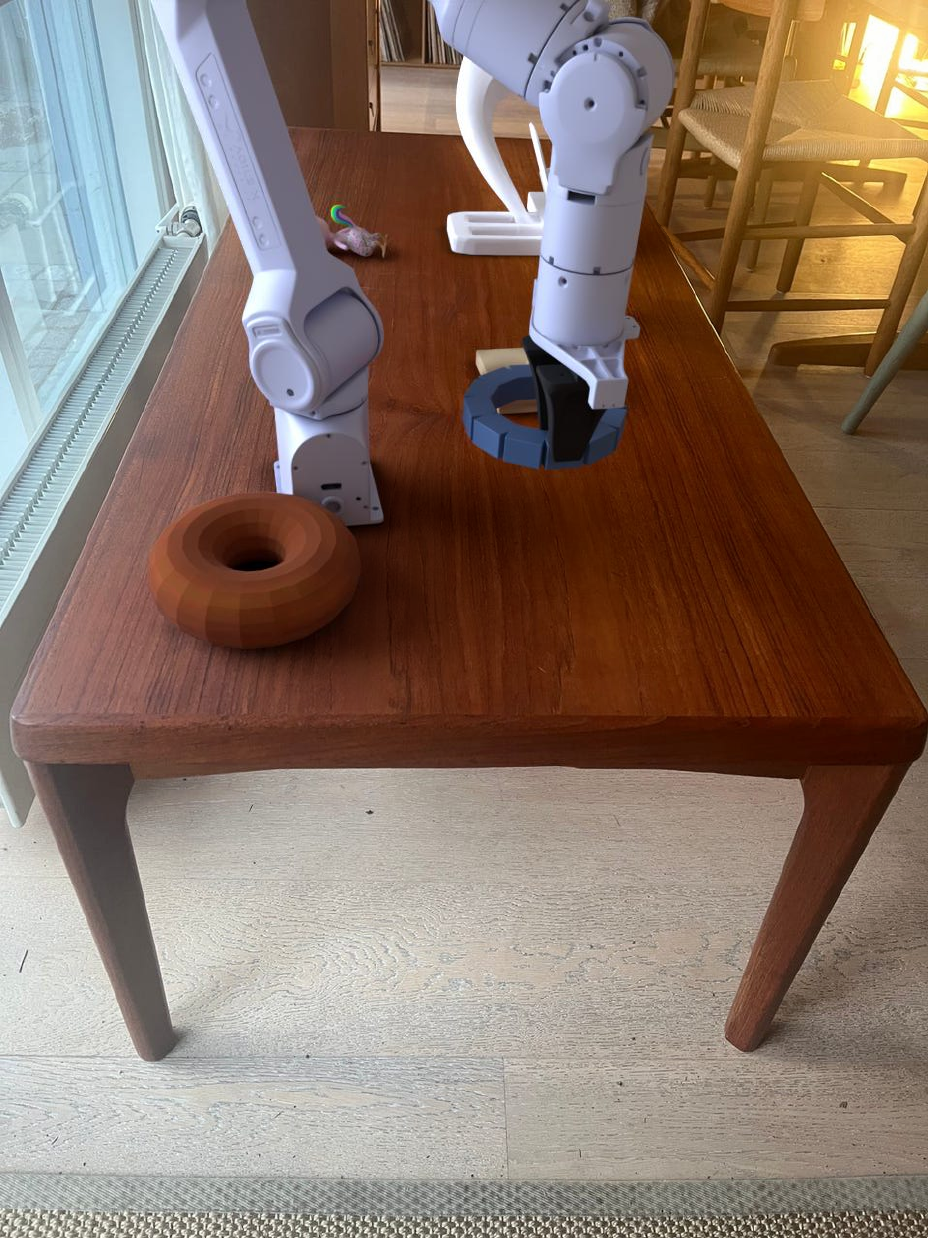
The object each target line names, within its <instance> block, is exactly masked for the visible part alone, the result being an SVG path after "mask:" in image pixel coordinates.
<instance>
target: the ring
mask: <svg viewBox="0 0 928 1238" xmlns="http://www.w3.org/2000/svg"><path fill="white" fill-rule="evenodd" d="M533 399H536V393H535V386H534V381H533V376H532V372H531V368H530V365H529V364H525V365H509V369H508V368H506V367H501V368H499V369H496V370H494V371H491V372H488V373H486V374H483V375H481V374H480V375H479V376H478V378H475V379H474V380H473V381H472V383H471V384H470V386H469V387H468V388H467V390H466V391H465V393H464V394H463V404H462V419H461V421H462V425H463V427H464V429H465V431H466V434H467V437H468V439H469V441H472V444H473V445H475V446H476V447H477V448H479V449H481V450H482V451H484V452H485V453H487V454H489V455H490V456H492V457H493V458H495V459H497V460H499V459H502V462H503V463H507V464H513V465H518V466H521V467H527V468H531V469H534V470H540V469H541V467H542V466H543V468H544V470H545V471H553V470H565V469H566V470H568V469H582V468H583V465H584V466H586V467H589V466H591V465H593V464H595V463H596V462H599V461H601V460H603V459H605V458H607V457H608V456H609V457H610V456H611V455H613V453H614V452H616V451H617V450H618V449H617V448H618V447H619V445H620V442H621V439H622V437H623V434H624V430H625V425H626V419H627V414H628V409H627V408H628V407H627V405H626V402H625V403H624V407H623V408H611V409H607V410H606V412H605V413H604V415H603V416H602V418H601V420H600V421H599V423H598V425H597V427H596V429H595V431H594V434H593V436H592V438H591V440H590V443H589V445H588V447H587V449H586V451H585V453H584V455H583V457H582V459H581V460H580V461H569V462H553V460H552V458H551V454H550V448H549V438H548V430H547V431H544V430H540V429H539V428H534V427H530V426H526V425H520V424H517V423H515V422H513V421H512V420H510V419H508V418H507V417H505V416H504V415H503V414H499V413H498V412H497V408H500V407H502V406H504V405H507V404H509V403H512V402H514V401H516V400H533Z"/></svg>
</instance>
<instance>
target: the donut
mask: <svg viewBox="0 0 928 1238" xmlns="http://www.w3.org/2000/svg"><path fill="white" fill-rule="evenodd" d="M252 562H269V563H270V562H271V563H275V564H276V565H275V566H272V567H269V568H266V569H262V570H251V571H246V570H238V569H234V568H236V567H238V566H240V565H241V566H242V565H245V564H248V563H252ZM361 572H362V564H361V557H360V551H359V546H358V544H357V540H356V537H355V536H354V535H353V533H352V532H351V531H350V529H349V528H348V526H346V525H345V524H344V522H343V521H342V520H341V519H339V518H338V517H337V516H336V515H335V514H333V513H332V512H330V511H329V510H327V509H326V508H324V507H323V506H321V505H320V504H318V503H316V502H313V501H310V500H308V499H305V498H302V497H299V496H296V495H292V494H284V493H277V492H275V491H267V490H265V491H250V492H249V491H248V492H235V493H231V494H228V495H223V496H219V497H215V498H211V499H208V500H206V501H204V502H202V503H200V504H197V505H195V506H193V507H191V508H189V509H187V510H185V511H183V512H182V513H181V514H180V515H179V516H177V517H176V518H174V520H173V521H171V522H170V523H169V524H168V525H166V527H164V529H163V530H162V532H161V533H160V535H159V536H158V538H157V540H156V541H155V543H154V545H153V546H152V548H151V550H150V551H149V555H148V565H147V575H146V576H147V578H146V585H147V588H148V591H149V592H150V594H151V597H152V599H153V601H154V603H155V606H156V608H157V609H158V611H159V613H160V615H161V616H162V617H164V618H165V619H166V620H167V621H168V622H169V623H171V624H172V625H173V626H174V627H175V628H176V629H178V630H179V631H180V632H182V633H184V634H186V635H187V636H189V637H193V638H195V639H198V640H200V641H203V642H205V643H208V644H210V645H213V646H216V647H217V646H218V647H225V648H233V649H240V650H251V649H252V650H253V649H263V648H274V647H276V648H277V647H279V646H282V645H286V644H288V643H289V644H290V643H292V642H295V641H299V640H301V639H305V638H307V637H309V636H310V635H313V633H315V632H317V631H318V630H320V629H322V628H325V626H327V625H329V624H330V623H331V622H332V621H334V620H335V619H336V618H337V616H338V615H339V614H341V612H342V611H343V610H344V609H345V608H346V607H347V605H348V604H349V603H350V602H351V601H352V600H353V596H354V595H355V591H356V589H357V585H358V582H359V580H360V576H361Z"/></svg>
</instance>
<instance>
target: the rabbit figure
mask: <svg viewBox="0 0 928 1238" xmlns="http://www.w3.org/2000/svg"><path fill="white" fill-rule="evenodd" d="M345 208H346V206H344V205H342V204H334V205H333V206H332V207H331V209H330V216H331V219H332V220H333V222H334V223H336V224H338V225H340V226H348V227H346V228H343V229H341V230H339V231H337V232H335V233H333V232H332V231H330V228H329V227H330V226H329V224H328V223H327V222H326V221H325V219H323V218H321V217H320V216H317V215H316V218H317V221H318V224H319V227H320V230H321V233H322V236H323V239H324V242H325V245H326V248H327V249H328V247H329V244H330V243H331V244H333V245H335V246H337V247H338V248H339V249H340V250H344V251H348V250H350V251H352V252H353V253H356V254H358V255H360V256H361V257H364V258H365V257H366V258H368V257H370V256H372V255H373V253H374V251H375V249H376V248H377V246H379V247H380V248H381V251H382V254H381V255H382V258H383V259H385V254H386V251H387V250H386V249H387V241H388V239H387V237H388V234H386V235H385V236H383V235H382V234H381V233H380V232H375V233H369V231H367V230H366V229H365V228H363V227H361V226H357V225H356V224H355V223H354V222H353V220H352V219H351V218H350V217H349V216H348V215H346V214H343V213H342V212H341V211H342V210H343V209H345ZM378 239H381V240H382V243H383V244H382V243H381V242H380V241H379V240H378Z"/></svg>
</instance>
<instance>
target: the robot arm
mask: <svg viewBox="0 0 928 1238" xmlns="http://www.w3.org/2000/svg"><path fill="white" fill-rule="evenodd" d="M149 1H150V3H151V6H152V9H153V12H154V14H155V17H156V19H157V22H158V25H159V28H160V29H161V33H162V35H163V38H164V41H165V44H166V46H167V49H168V52H169V55H170V56H171V59H172V62H173V65H174V67H175V70H176V73H177V76H178V78H179V82H180V83H181V86H182V89H183V91H184V94H185V97H186V99H187V102H188V105H189V107H190V111H191V113H192V115H193V119H194V121H195V123H196V126H197V128H198V132H199V134H200V137H201V139H202V142H203V145H204V147H205V151H206V153H207V155H208V158H209V161H210V163H211V166H212V168H213V169H212V170H213V171H214V174H215V177H216V179H217V183H218V184H219V187H220V190H221V193H222V195H223V198H224V200H225V203H226V206H227V209H228V211H229V213H230V216H231V219H232V221H233V225H234V227H235V229H236V232H237V236H238V238H239V240H240V243H241V247H242V248H243V251H244V254H245V257H246V259H247V261H248V264H249V267H250V269H251V273H252V275H253V281H252V285H251V288H250V291H249V294H248V297H247V300H246V303H245V306H244V310H243V313H242V317H241V323H242V325H243V328H244V331H245V334H246V337H247V340H248V346H249V355H248V357H249V358H248V361H249V362H248V363H249V369H250V372H251V376H252V378H253V380H254V382H255V384H256V386H257V388H258V390H259V391H260V392H261V394H262V395H263V396H265V398H266V399H267V400H268V402H269V405H270V407H273V409H274V420H275V431H276V442H277V453H278V460H276V461H275V462H274V463H273V469H274V477H275V478H274V479H275V487H276V493H284V494H292V495H296V496H299V497H302V498H305V499H308V500H310V501H313V502H316V503H318V504H320V505H321V506H323V507H324V508H326V509H327V510H329V511H330V512H332V513H333V514H335V515H336V516H337V517H338V518H339V519H341V520H342V521H343V522H344V524H345V525H346V527H351V526H364V525H374V524H380V523H383V522H384V512H383V508H382V505H381V501H380V496H379V493H378V489H377V484H376V480H375V477H374V473H373V469H372V464H371V460H370V412H369V411H370V410H369V409H370V408H369V406H370V405H369V404H370V403H369V379H370V363H372V362H373V361H375V359H376V358H378V356H379V355H380V353H381V352H382V349H383V345H384V341H385V332H384V331H385V330H384V324H383V322H382V319H381V316H380V314H379V312H378V310H377V309H376V308H375V306H374V304H373V303H372V302H371V301H370V299H368V297H367V296H366V295H365V293H364V292H363V289H362V288H361V286H360V284H359V280H358V278H357V275H356V272H355V269H354V268H353V267H351V266H350V265H349V264H347V263H346V262H344V261H342V260H341V259H339V258H338V257H336V256H334V255H333V254H331V253H330V252H329V251H328V248H326V245H325V242H324V239H323V236H322V233H321V230H320V227H319V224H318V221H317V218H316V216H317V214H316V212H315V209H314V206H313V204H312V200H311V197H310V194H309V191H308V188H307V185H306V182H305V179H304V175H303V172H302V169H301V167H300V163H299V160H298V158H297V155H296V152H295V149H294V145H293V143H292V139H291V137H290V133H289V129H288V127H287V124H286V121H285V118H284V115H283V112H282V109H281V106H280V103H279V100H278V97H277V94H276V90H275V88H274V85H273V82H272V79H271V75H270V73H269V70H268V67H267V64H266V61H265V58H264V55H263V52H262V49H261V45H260V42H259V40H258V36H257V33H256V31H255V28H254V25H253V22H252V18H251V16H250V12H249V9H248V6H247V0H149ZM427 1H428V2H429V3H430V4H432V6H433V9H434V12H435V18H436V23H437V26H438V30H439V34H440V37H441V39H442V40H443V42H444V43H445V44H446V45H448V46H450V47H451V48H452V49H453V50H455V51H456V52H458V53H459V54H461V55H462V56H463V57H464V56H465V57H466V58H468V59H469V60H470V61H472V62H473V63H474V64H476V65H477V66H478V67H480V68H481V69H483V70H484V71H485V72H487V73H488V74H489V75H491V76H492V77H494V78H495V79H496V80H498V81H499V82H500V83H502V84H503V85H504V86H506V87H507V88H509V89H510V90H511V91H513V92H514V93H515V94H514V95H517V97H519V98H521V99H522V100H524V101H525V102H526V103H527V104H529V105H530V106H532V107H533V108H535V109H536V108H538V109H539V114H540V119H541V122H542V125H543V128H544V131H545V134H546V135H547V137H548V138H549V140H550V142H551V144H552V146H551V147H552V148H551V155H550V166H549V168H550V172H549V176H548V185H547V194H546V204H545V214H544V224H543V233H542V243H541V251H540V256H539V262H538V272H537V278H535V279H534V282H533V291H532V301H531V307H532V306H533V311H532V315H531V314H530V319H529V331H528V335H525V336H523V337H522V338H521V341H520V344H521V346H522V348H524V351H525V353H526V356H527V359H528V361H529V365H530V368H531V372H532V376H533V381H534V386H535V393H536V402H537V412H536V413H537V421H538V429H539V430H544V431H547V430H548V438H549V448H550V454H551V458H552V460H553V462H569V461H580V460H581V459H582V457H583V455H584V453H585V451H586V449H587V447H588V445H589V443H590V440H591V438H592V436H593V434H594V431H595V429H596V427H597V425H598V423H599V421H600V420H601V418H602V416H603V415H604V413H605V412H606V410H607V409H611V408H623V407H624V403H625V404H626V402H625V401H626V396H627V392H628V385H629V377H628V375H627V374H626V372H625V365H624V364H625V363H624V362H625V349H626V347H625V346H626V340H635V339H638V338H639V337H640V332H641V326H640V325H639V323H638V322H637V321H636V319H635V318H634V317H632V316H631V315H626V312H627V307H628V301H629V295H630V289H631V283H632V276H633V270H634V265H635V259H636V253H637V247H638V241H639V235H640V231H641V230H640V229H641V225H642V218H643V212H644V206H645V199H646V195H647V189H648V171H649V165H650V162H651V161H650V160H651V152H652V147H653V141H654V133H653V132H646V131H648V130H649V129H650V128H651V127H653V126H654V125H655V124H656V123H657V121H659V119H660V118H661V117H662V115H663V114H664V112H665V111H666V109H667V107H668V105H669V103H670V101H671V99H672V95H673V92H674V88H675V81H676V80H675V74H676V73H675V65H674V59H673V56H672V54H671V52H670V49H669V47H668V46H667V43H666V42H665V41H664V40H663V38H661V36H660V35H659V34H658V33H657V32H655V30H654V29H653V28H652V25H651V24H650V23H649V22H648V20H646V19H642V18H639V17H635V16H623V17H617V18H614V19H609V14H610V13H611V10H612V5H611V4H610V2H608V1H607V0H427ZM644 133H645V134H644ZM529 334H530V335H529Z"/></svg>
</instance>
